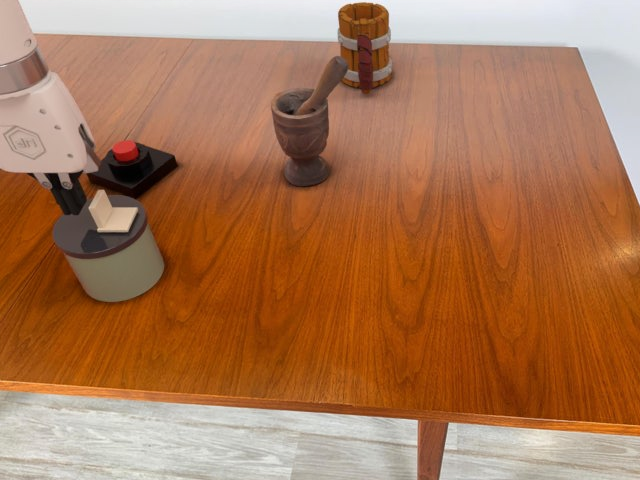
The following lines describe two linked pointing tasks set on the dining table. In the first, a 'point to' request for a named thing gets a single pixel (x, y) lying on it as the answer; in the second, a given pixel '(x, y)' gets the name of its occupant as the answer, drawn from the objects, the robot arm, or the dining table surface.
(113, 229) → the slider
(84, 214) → the grey green round canister
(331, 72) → the mortar and pestle
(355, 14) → the mug
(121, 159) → the button
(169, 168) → the button block
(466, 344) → the dining table surface
